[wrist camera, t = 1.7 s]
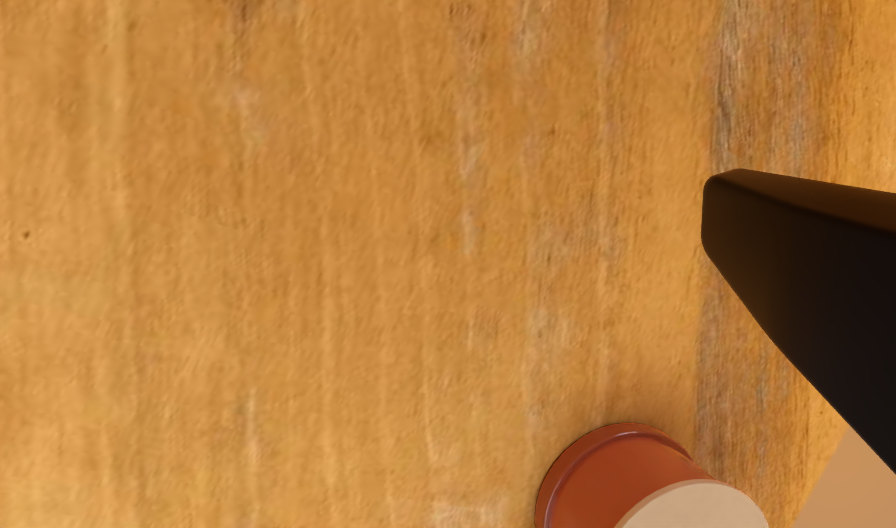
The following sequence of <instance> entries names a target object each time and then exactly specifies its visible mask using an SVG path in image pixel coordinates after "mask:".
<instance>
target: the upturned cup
mask: <svg viewBox="0 0 896 528" xmlns="http://www.w3.org/2000/svg"><path fill="white" fill-rule="evenodd" d="M535 527H536V528H769V526H768V523H767V521H766V519H765V517H764V515H763V513H762V511H761V510H760V508H759V507H758V506H757V504H756V503H755V502H754V501H753V500H752V499H751V498H750V497H749V496H747V495H746V494H745V493H743V492H742V491H740V490H739V489H737V488H736V487H734V486H732V485H729V484H727V483H724V482H721V481H717V480H716V479H714V478H713V477H712V476H710V475H709V474H708V473H707V472H705V471H704V470H703V469H701V468H700V467H699V466H698V465H696V464H695V463H694V462H693V460H692V458H691V456H690V455H689V454H688V452H687V451H686V450H685V449H684V448H683V447H682V446H681V445H680V444H679V443H677V442H676V441H675V440H674V439H672V438H671V437H670V436H668V435H667V434H665V433H664V432H662V431H661V430H659V429H656V428H654V427H652V426H648V425H645V424H639V423H619V424H612V425H609V426H605V427H602V428H599V429H597V430H594V431H592V432H590V433H588V434H587V435H585V436H583V437H581V438H580V439H579V440H577V441H576V442H575V443H573V444H572V445H571V446H570V447H569V448H568V449H566V450H565V451H564V452H563V453H562V454H561V456H560V457H559V458H558V459H557V460H556V461H555V463H554V464H553V466H552V467H551V469H550V470H549V472H548V474H547V475H546V477H545V479H544V481H543V484H542V486H541V489H540V491H539V495H538V498H537V503H536V510H535Z"/></svg>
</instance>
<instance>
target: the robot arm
mask: <svg viewBox="0 0 896 528" xmlns="http://www.w3.org/2000/svg"><path fill="white" fill-rule="evenodd" d="M701 239H702V244H703V247H704V250H705V252H706V254H707V255H708V257H709V258H710V259H711V261H712V262H713V264H714V265H715V266H716V268H717V269H718V270H719V272H720V273H721V274H722V276H723V277H724V278H725V280H726V281H727V282H728V284H729V285H730V286H731V288H732V289H733V290H734V292H735V293H736V294H737V296H738V297H739V298H740V300H741V301H742V302H743V304H744V305H745V306H746V308H747V309H748V310H749V312H750V313H751V314H752V316H753V317H754V318H755V320H756V321H757V322H758V324H759V325H760V326H761V328H762V329H763V330H764V331H765V333H766V334H767V335H768V336H769V338H770V339H771V340H772V341H773V343H774V344H775V345H776V346H777V347H778V348H779V350H780V351H781V352H782V353H783V354H784V355H785V356H786V357H787V358H788V360H789V361H790V362H791V363H792V364H793V365H794V366H795V367H796V368H797V369H798V370H799V371H800V372H801V374H802V375H803V376H804V377H805V378H806V379H807V380H808V381H809V382H810V383H811V384H812V385H813V386H814V387H815V389H816V390H817V391H818V392H819V393H820V394H821V395H822V396H823V397H824V398H825V399H826V400H827V401H828V402H829V404H830V405H831V406H832V407H833V408H834V409H835V410H836V411H837V412H838V413H839V414H840V415H841V416H842V418H843V419H844V420H845V421H846V422H847V423H848V424H849V425H850V426H851V427H852V428H853V429H854V430H855V431H856V433H857V434H858V435H859V436H860V437H861V438H862V439H863V440H864V441H865V442H866V443H867V444H868V445H869V446H870V447H871V449H872V450H873V451H874V452H875V453H876V454H877V455H878V456H879V457H880V458H881V459H882V460H883V461H884V463H885V464H886V465H887V466H888V467H889V468H890V469H891V470H892V471H893V472H894V473H895V474H896V193H890V192H884V191H878V190H871V189H865V188H859V187H853V186H847V185H840V184H834V183H828V182H822V181H816V180H809V179H803V178H797V177H791V176H785V175H778V174H772V173H766V172H760V171H754V170H747V169H733V170H730V171H727V172H723V173H720V174H717V175H714V176H711V177H710V178H709V179H708V180H707V181H706V183H705V185H704V189H703V204H702V224H701Z"/></svg>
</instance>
